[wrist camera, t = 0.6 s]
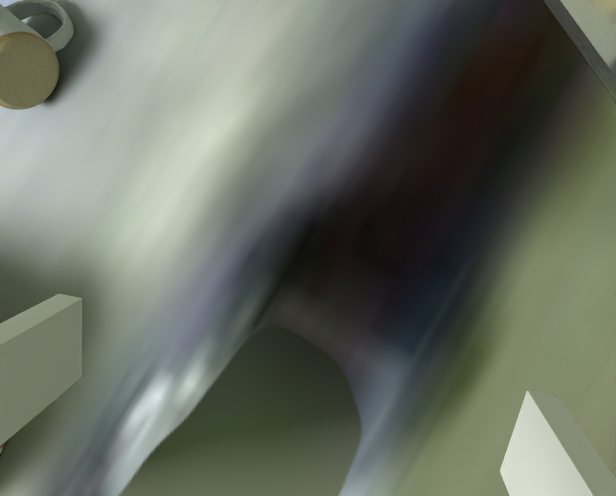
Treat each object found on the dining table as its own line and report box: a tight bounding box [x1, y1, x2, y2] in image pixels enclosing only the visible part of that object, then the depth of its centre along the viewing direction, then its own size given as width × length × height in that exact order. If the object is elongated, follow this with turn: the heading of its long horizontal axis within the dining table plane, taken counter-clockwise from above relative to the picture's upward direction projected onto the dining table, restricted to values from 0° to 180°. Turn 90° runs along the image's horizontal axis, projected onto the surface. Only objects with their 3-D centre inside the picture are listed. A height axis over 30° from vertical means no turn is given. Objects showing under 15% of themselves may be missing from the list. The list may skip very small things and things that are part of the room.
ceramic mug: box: [0, 0, 74, 109], centre depth 37 cm, size 11×8×8 cm
